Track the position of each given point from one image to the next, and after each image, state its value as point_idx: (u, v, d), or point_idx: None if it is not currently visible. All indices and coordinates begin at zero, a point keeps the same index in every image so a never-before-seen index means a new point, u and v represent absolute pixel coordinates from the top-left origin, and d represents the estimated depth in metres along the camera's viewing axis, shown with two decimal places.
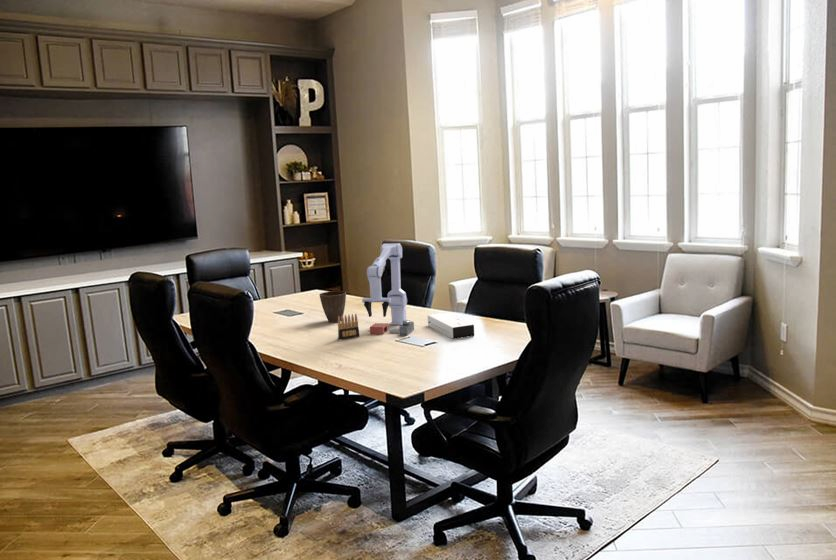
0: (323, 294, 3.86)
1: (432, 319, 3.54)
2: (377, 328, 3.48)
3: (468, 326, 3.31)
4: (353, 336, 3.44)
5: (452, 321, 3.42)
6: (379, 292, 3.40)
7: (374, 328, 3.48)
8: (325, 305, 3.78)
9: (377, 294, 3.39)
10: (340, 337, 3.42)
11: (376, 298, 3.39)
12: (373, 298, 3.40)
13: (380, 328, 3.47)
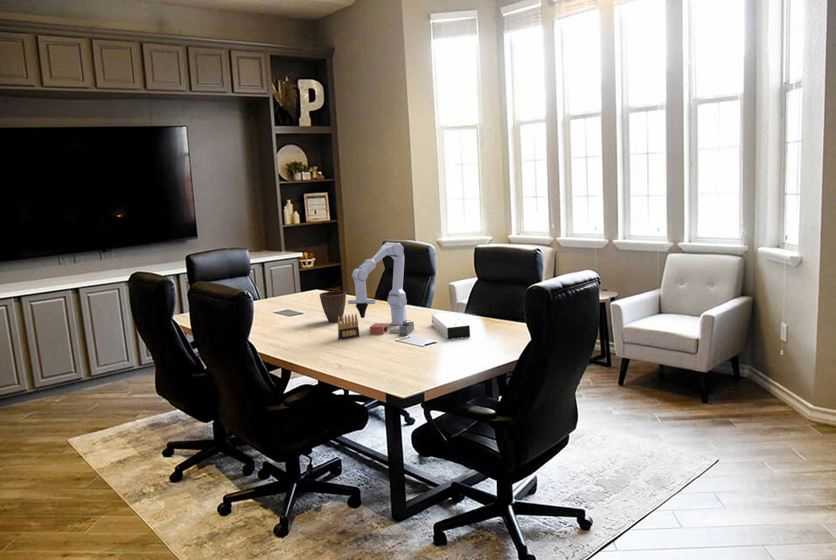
0: (323, 294, 3.86)
1: (434, 318, 3.55)
2: (377, 328, 3.48)
3: (463, 327, 3.30)
4: (353, 336, 3.44)
5: (451, 321, 3.41)
6: (364, 294, 3.49)
7: (374, 328, 3.48)
8: (325, 305, 3.78)
9: (362, 295, 3.49)
10: (340, 337, 3.42)
11: (361, 300, 3.49)
12: (358, 300, 3.49)
13: (380, 328, 3.47)
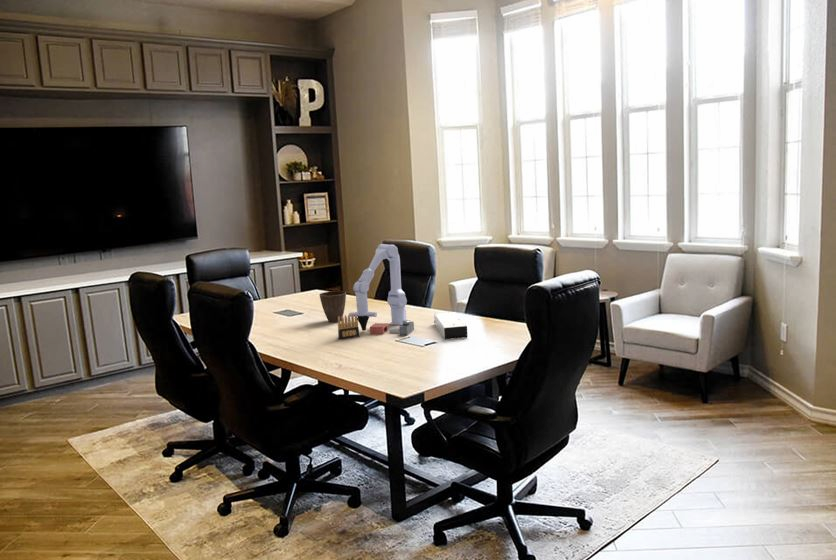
0: (323, 294, 3.86)
1: (436, 318, 3.55)
2: (377, 328, 3.48)
3: (461, 327, 3.30)
4: (353, 336, 3.44)
5: (450, 321, 3.41)
6: (365, 307, 3.50)
7: (374, 328, 3.48)
8: (325, 305, 3.78)
9: (363, 308, 3.50)
10: (340, 337, 3.42)
11: (362, 312, 3.50)
12: (359, 312, 3.50)
13: (380, 328, 3.47)
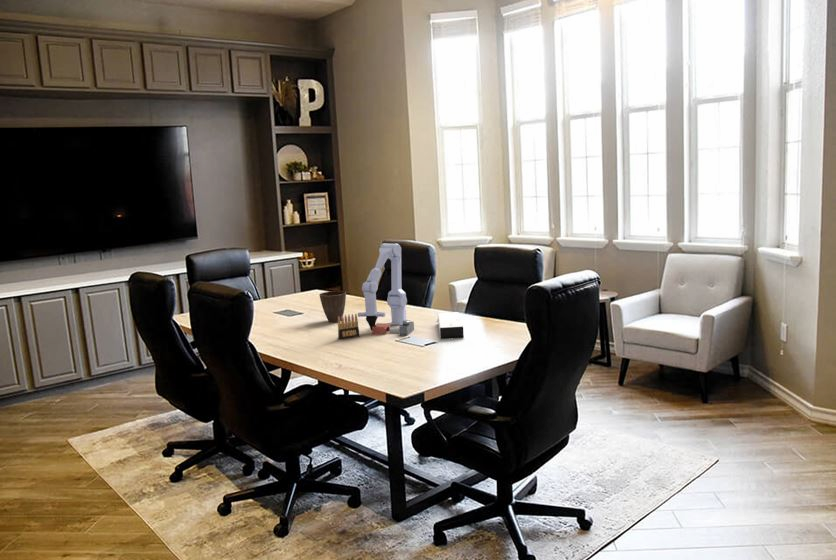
0: (323, 294, 3.86)
1: None
2: (379, 328, 3.47)
3: (457, 328, 3.29)
4: (353, 336, 3.44)
5: (449, 321, 3.41)
6: (374, 307, 3.49)
7: (376, 328, 3.48)
8: (325, 305, 3.78)
9: (372, 308, 3.49)
10: (340, 337, 3.42)
11: (371, 312, 3.49)
12: (368, 312, 3.49)
13: (382, 328, 3.47)
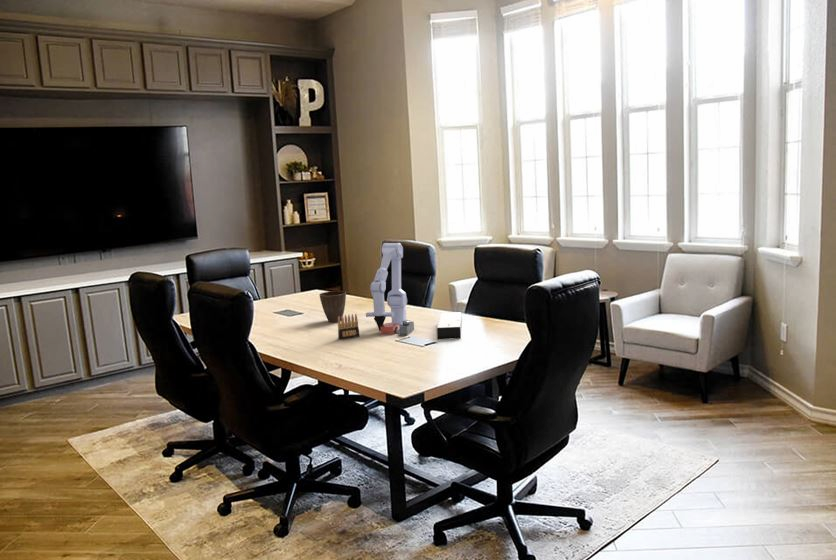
0: (323, 294, 3.86)
1: None
2: (388, 328, 3.46)
3: (454, 328, 3.29)
4: (353, 336, 3.44)
5: (448, 321, 3.41)
6: (382, 307, 3.48)
7: (384, 328, 3.47)
8: (325, 305, 3.78)
9: (380, 308, 3.47)
10: (340, 337, 3.42)
11: (379, 313, 3.47)
12: (376, 312, 3.48)
13: (391, 328, 3.46)
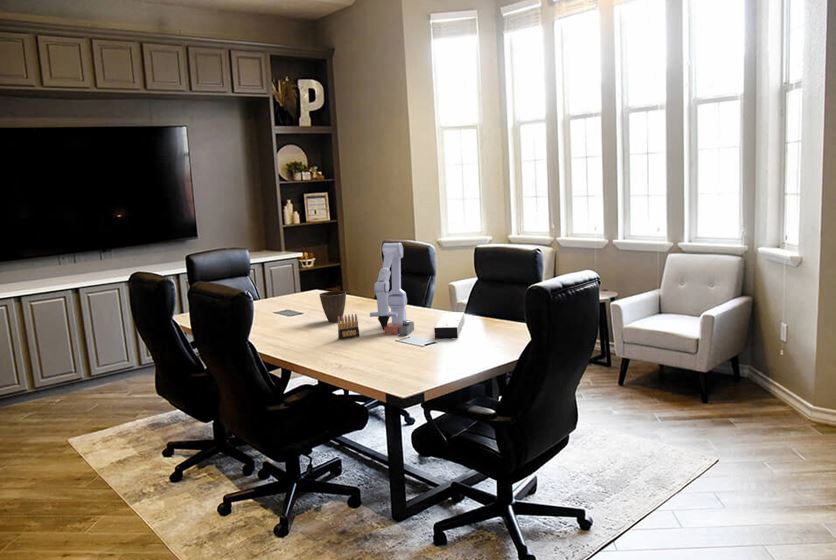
0: (323, 294, 3.86)
1: None
2: (391, 328, 3.46)
3: (451, 328, 3.29)
4: (353, 336, 3.44)
5: (447, 321, 3.42)
6: (386, 307, 3.47)
7: (388, 328, 3.46)
8: (325, 305, 3.78)
9: (384, 308, 3.47)
10: (340, 337, 3.42)
11: (383, 313, 3.47)
12: (380, 313, 3.47)
13: (395, 328, 3.45)
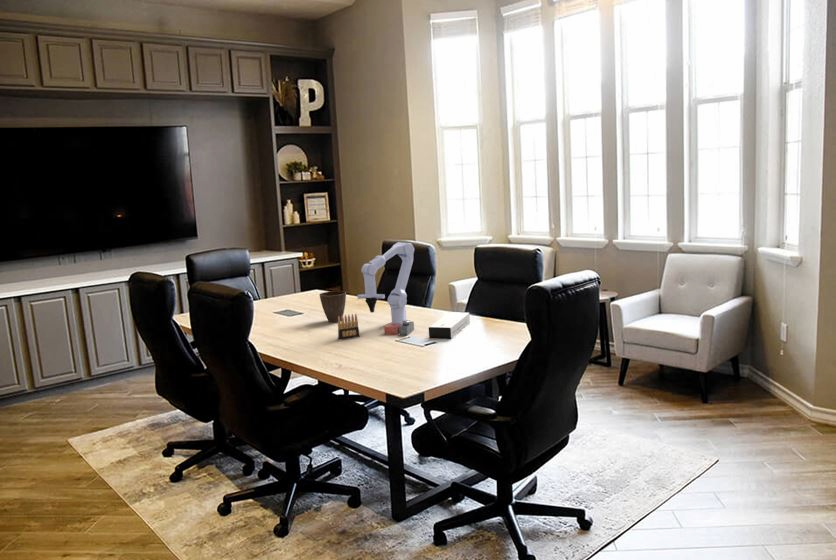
0: (323, 294, 3.86)
1: None
2: (391, 328, 3.46)
3: (444, 328, 3.30)
4: (353, 336, 3.44)
5: (446, 321, 3.42)
6: (374, 289, 3.54)
7: (388, 328, 3.46)
8: (325, 305, 3.78)
9: (372, 290, 3.53)
10: (340, 337, 3.42)
11: (371, 294, 3.54)
12: (368, 294, 3.54)
13: (395, 328, 3.45)
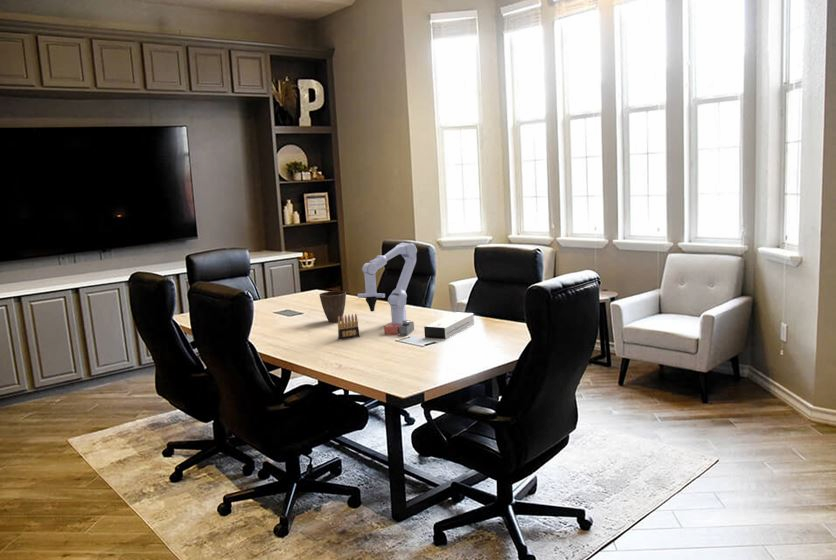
0: (323, 294, 3.86)
1: None
2: (391, 328, 3.46)
3: (439, 328, 3.30)
4: (353, 336, 3.44)
5: (444, 321, 3.42)
6: (374, 288, 3.56)
7: (388, 328, 3.46)
8: (325, 305, 3.78)
9: (372, 289, 3.55)
10: (340, 337, 3.42)
11: (371, 293, 3.56)
12: (368, 293, 3.56)
13: (395, 328, 3.45)
